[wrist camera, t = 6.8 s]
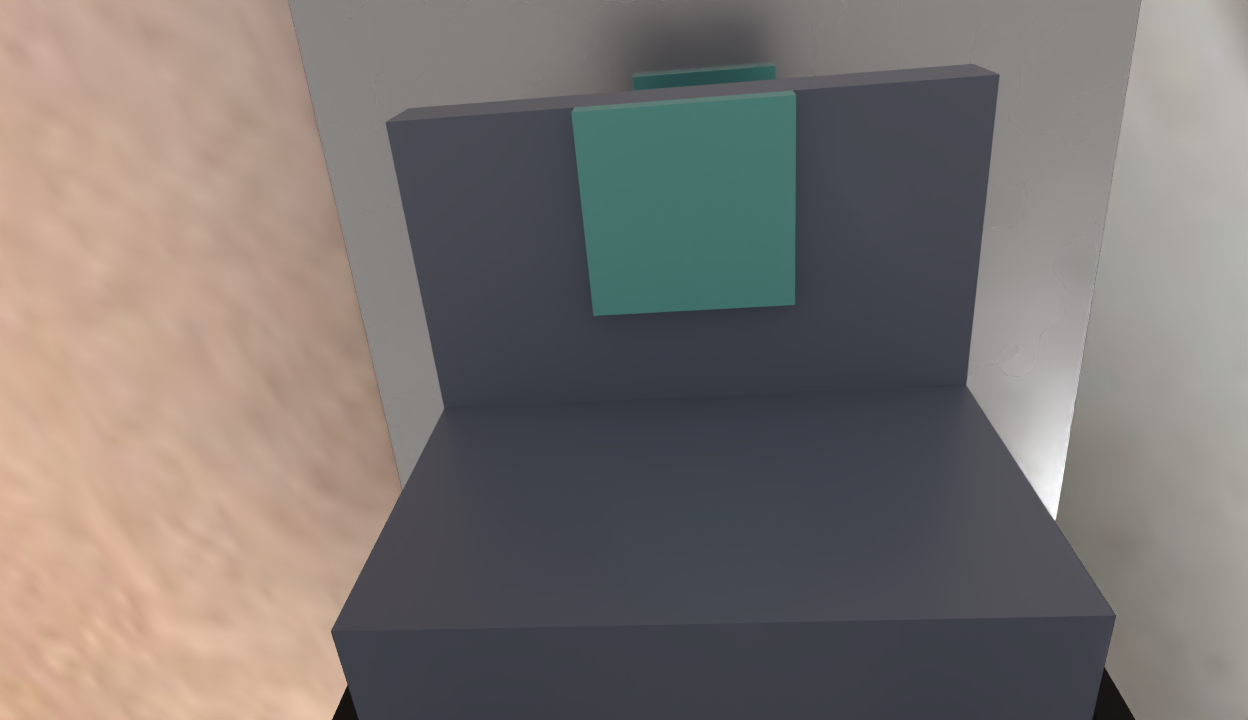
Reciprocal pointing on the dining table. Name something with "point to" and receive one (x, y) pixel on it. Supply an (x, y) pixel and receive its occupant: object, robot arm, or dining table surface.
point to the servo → (713, 421)
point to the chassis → (740, 52)
